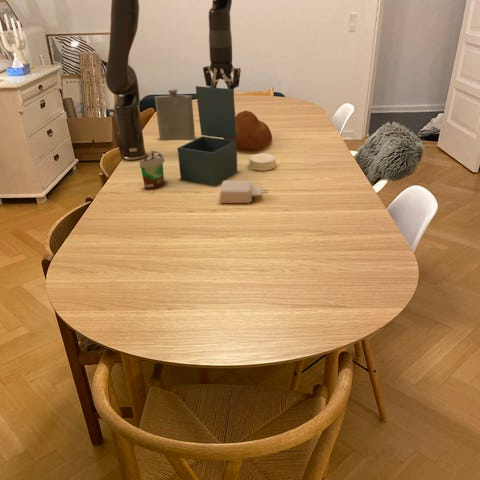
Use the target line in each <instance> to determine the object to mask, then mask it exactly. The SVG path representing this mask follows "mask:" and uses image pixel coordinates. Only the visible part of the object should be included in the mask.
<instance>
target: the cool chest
mask: <svg viewBox="0 0 480 480" xmlns="http://www.w3.org/2000/svg"><path fill="white" fill-rule="evenodd" d="M177 157H178V165H179V176H180V180H181V181H183V182H184V181H185V182H189V183H196V184H201V185H206V186H212V187H217V186H219V185H220V184H222V183H223V181H227V180H229V178H231V177H232V176H234V175H236V174H237V173H238V148H237V145H236V141H234V140H226V139H223V138H218V137H211V136H203V135H201V136H200V137H197V138H195V139H192V140H191V141H188V142H187V143H185V144H182V145H181V146H179V147H177Z"/></svg>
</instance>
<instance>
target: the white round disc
mask: <svg viewBox="0 0 480 480" xmlns="http://www.w3.org/2000/svg"><path fill="white" fill-rule="evenodd" d="M276 160H277V157H276V156H275V155H273V154H270V153H256V154H253V155H251V156H250V157H249V159H248V166H249V168H250V169H251V170H254V171H258V172H264V171H266V172H267V171H271V170H274V169H275V168H276V166H277V164H276V163H277V161H276Z"/></svg>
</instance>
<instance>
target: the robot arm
mask: <svg viewBox="0 0 480 480" xmlns="http://www.w3.org/2000/svg"><path fill="white" fill-rule="evenodd" d="M232 2H233V0H212V5H211V7H210V9H209V10H208V45H209V61H210V65H207V66H203V68H202V71H203V76H204V82H205V87H213V88H218V85H219V81H220V80H222V81H224V83H225V84H226V87H227V89H233V91H234V92H235V89H236V88H239V86H240V78H241V71H242V69H241V68H240V67H234V66H233V37H232V29H231V25H232V24H231V10H232ZM110 4H111V5H110V28H109V29H110V30H109V46H108V47H109V48H108V57H107V64H106V69H105V83H106V87H107V89H108V90H109V92H110V93H112V94H114V95H116V100H115V102H114V105H113V109H114V116H115V120H116V127H117V132H116V137H117V143H118V144H117V147H118V151H119V155H120V158H122V159H123V160H125V161H138V160H142V159H144V158H146V157H147V154H146V153H147V152H146V147H145V141H144V134H143V127H142V121H141V114H140V103H141V102H140V101H141V100H140V90H139V81H138V76H137V73H136V71H135V69H134V68H133V67H132V66H131V65H129V57H130V52H131V49H132V47H133V43H134V41H135V38H136V35H137V32H138V27H139V18H140V2H139V0H111V3H110ZM232 75H233V76H232Z"/></svg>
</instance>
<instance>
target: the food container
mask: <svg viewBox="0 0 480 480" xmlns="http://www.w3.org/2000/svg"><path fill="white" fill-rule="evenodd" d="M150 151H151V153H150V154H149V155H147V156H146V157H144V158H145V159H144V160H139V169H140V171H141V175H142V180H143V185H144V189H145V190H154V189H159V188H161V187H162V186H164V184H165V176H164V163H165V158H164V155H163V153H162V152H160V151H157V150H150Z"/></svg>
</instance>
